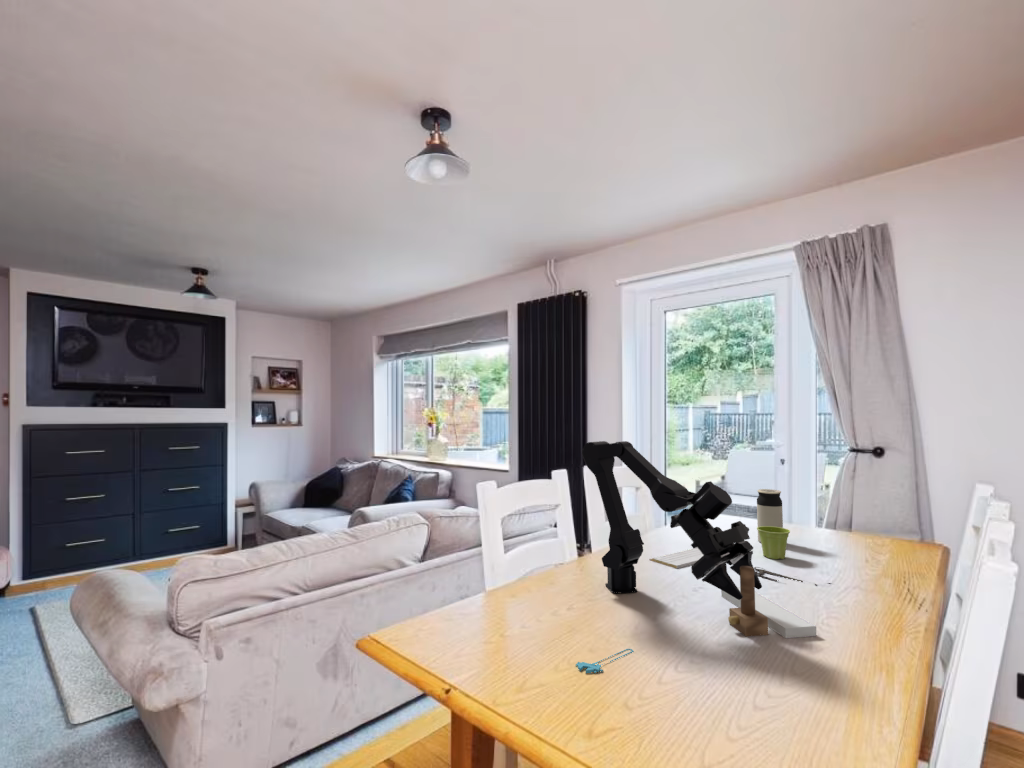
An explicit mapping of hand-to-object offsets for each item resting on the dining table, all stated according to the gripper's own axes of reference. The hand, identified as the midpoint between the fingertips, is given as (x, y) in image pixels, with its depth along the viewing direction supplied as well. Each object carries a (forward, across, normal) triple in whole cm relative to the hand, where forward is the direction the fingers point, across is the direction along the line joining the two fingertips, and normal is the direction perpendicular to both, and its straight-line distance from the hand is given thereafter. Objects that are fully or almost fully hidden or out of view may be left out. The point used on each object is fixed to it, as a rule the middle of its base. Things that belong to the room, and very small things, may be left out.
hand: (751, 593), depth 110 cm
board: (+4, +11, +7) cm, 14 cm away
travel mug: (-14, +77, +25) cm, 82 cm away
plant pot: (-8, +60, +19) cm, 63 cm away
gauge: (+5, 0, +6) cm, 8 cm away
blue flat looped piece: (-3, -33, +15) cm, 36 cm away
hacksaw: (0, +41, +12) cm, 43 cm away
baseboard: (-20, +43, +32) cm, 57 cm away
